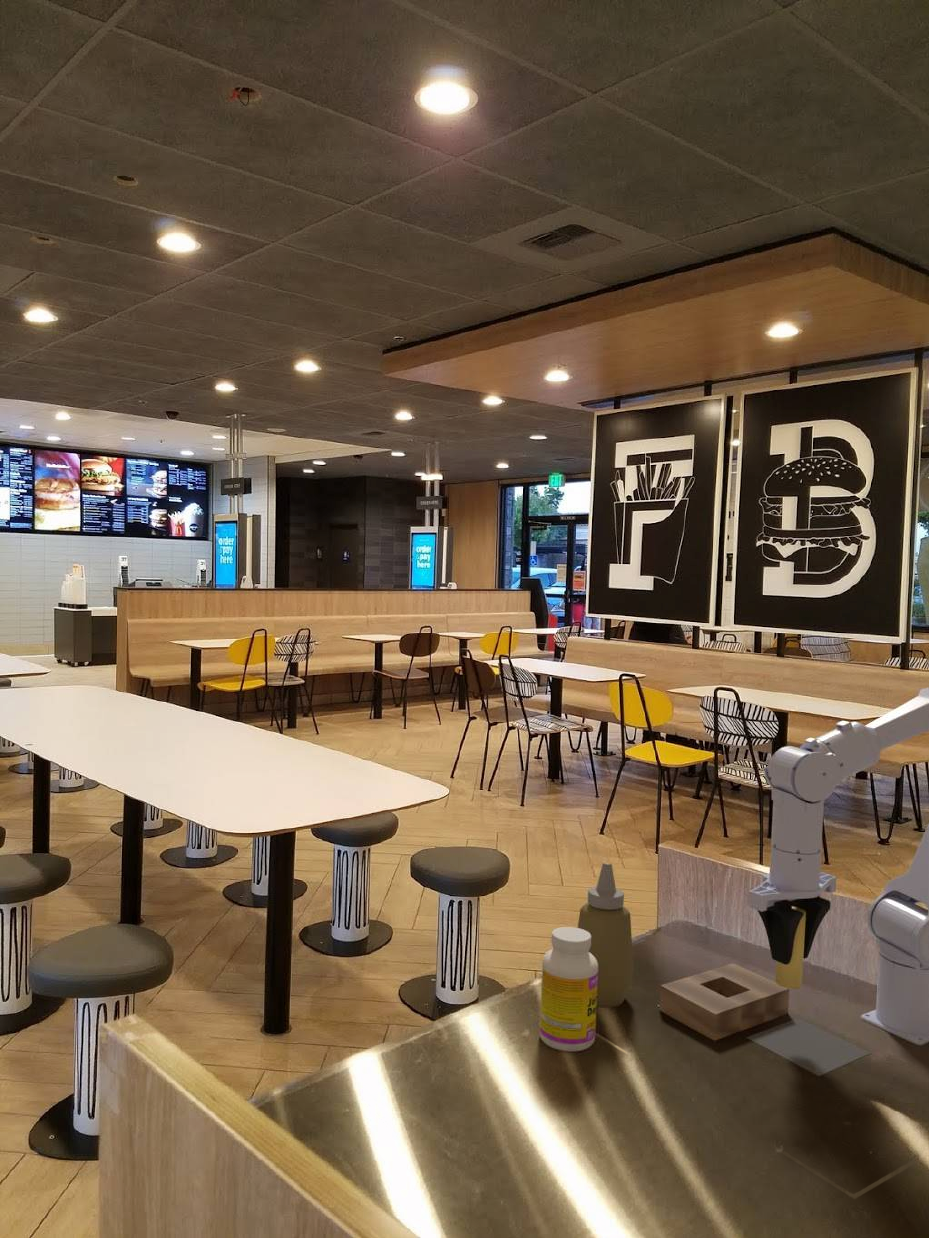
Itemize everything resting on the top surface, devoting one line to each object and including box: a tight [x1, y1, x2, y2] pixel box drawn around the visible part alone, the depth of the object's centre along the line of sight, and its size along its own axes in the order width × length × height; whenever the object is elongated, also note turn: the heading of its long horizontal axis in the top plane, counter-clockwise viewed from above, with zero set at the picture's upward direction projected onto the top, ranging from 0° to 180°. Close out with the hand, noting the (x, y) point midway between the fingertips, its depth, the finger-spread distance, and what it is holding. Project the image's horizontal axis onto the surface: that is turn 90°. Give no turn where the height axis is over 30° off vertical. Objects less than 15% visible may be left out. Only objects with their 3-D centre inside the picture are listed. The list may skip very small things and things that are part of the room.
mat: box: [746, 1017, 871, 1077], centre depth 110 cm, size 10×10×1 cm
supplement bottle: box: [539, 926, 598, 1053], centre depth 109 cm, size 7×7×13 cm
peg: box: [775, 906, 806, 990], centre depth 111 cm, size 3×3×9 cm
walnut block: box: [658, 963, 790, 1042], centre depth 118 cm, size 14×9×4 cm, turn 124°
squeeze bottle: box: [577, 862, 635, 1008], centre depth 120 cm, size 8×8×18 cm
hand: (789, 958), depth 111 cm, fingers closed on peg, 3 cm apart
